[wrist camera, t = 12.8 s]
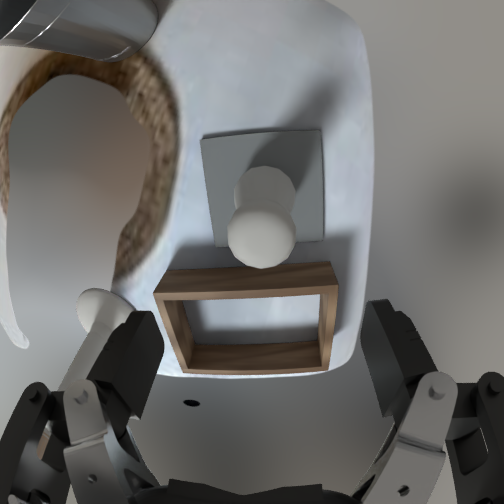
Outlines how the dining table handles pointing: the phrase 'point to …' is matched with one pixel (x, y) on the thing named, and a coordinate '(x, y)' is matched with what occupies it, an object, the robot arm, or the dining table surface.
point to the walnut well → (239, 287)
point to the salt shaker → (262, 218)
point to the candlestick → (91, 336)
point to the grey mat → (273, 155)
